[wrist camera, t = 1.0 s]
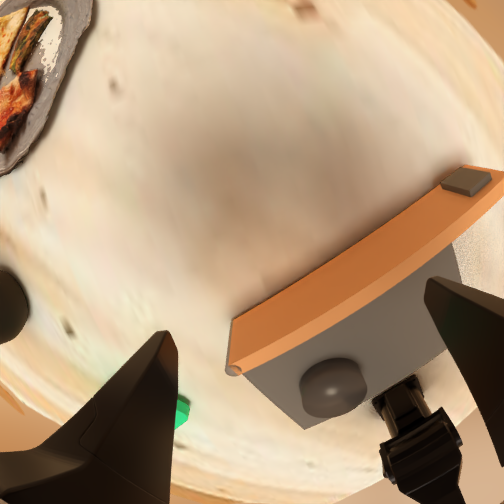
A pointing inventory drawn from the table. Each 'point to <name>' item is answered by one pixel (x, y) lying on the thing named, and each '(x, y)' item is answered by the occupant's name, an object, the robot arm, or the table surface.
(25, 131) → the food plate
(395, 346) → the camera case
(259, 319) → the side door
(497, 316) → the robot arm
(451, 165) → the table surface
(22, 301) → the cola bottle
